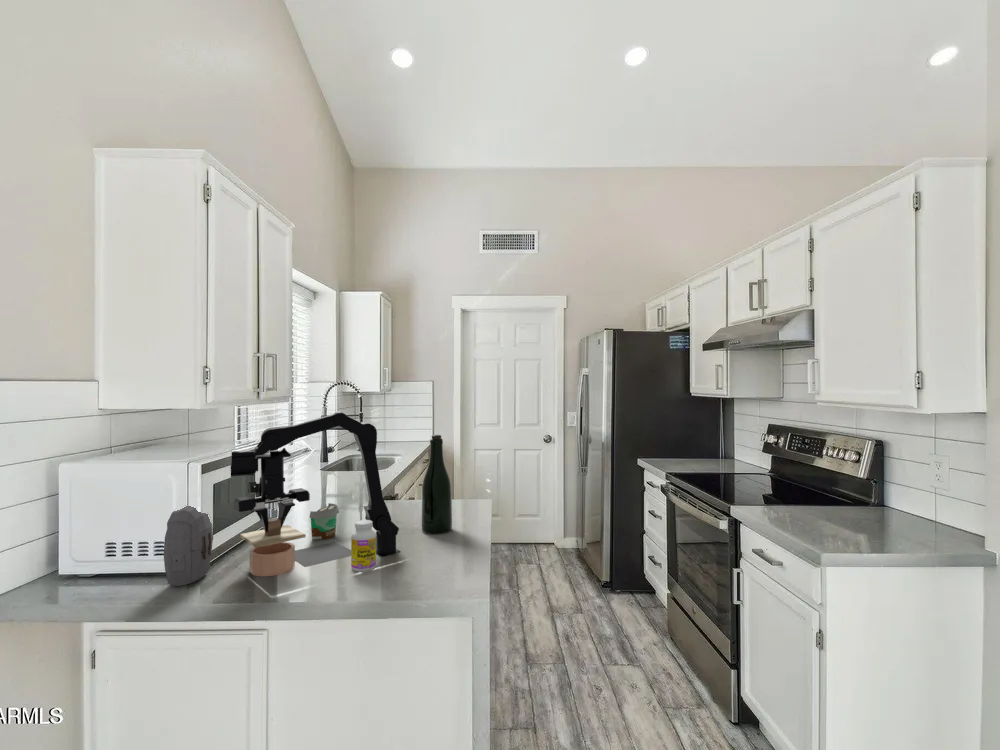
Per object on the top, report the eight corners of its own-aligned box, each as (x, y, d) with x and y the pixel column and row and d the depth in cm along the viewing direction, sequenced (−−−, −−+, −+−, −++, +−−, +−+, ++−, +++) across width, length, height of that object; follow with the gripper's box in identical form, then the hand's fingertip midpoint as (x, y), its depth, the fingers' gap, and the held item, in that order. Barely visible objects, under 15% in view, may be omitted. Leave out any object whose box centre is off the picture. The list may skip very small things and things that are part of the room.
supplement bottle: (354, 574, 141) (353, 526, 141) (348, 566, 147) (348, 520, 147) (378, 570, 144) (378, 523, 144) (372, 562, 150) (372, 517, 150)
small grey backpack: (191, 570, 145) (190, 497, 145) (222, 569, 145) (222, 497, 145) (158, 592, 130) (158, 511, 130) (193, 591, 130) (193, 510, 130)
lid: (305, 537, 144) (305, 519, 144) (255, 547, 135) (255, 529, 135) (287, 527, 154) (287, 511, 154) (240, 536, 145) (240, 519, 145)
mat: (358, 555, 156) (358, 553, 156) (305, 568, 145) (305, 566, 145) (334, 543, 168) (334, 541, 168) (283, 554, 157) (283, 553, 157)
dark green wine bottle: (416, 533, 178) (415, 436, 178) (429, 525, 188) (428, 433, 188) (445, 536, 175) (444, 436, 175) (456, 527, 185) (456, 433, 185)
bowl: (300, 570, 144) (300, 548, 144) (258, 581, 137) (258, 558, 137) (285, 560, 152) (285, 539, 152) (245, 569, 145) (244, 548, 145)
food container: (327, 544, 167) (326, 512, 167) (309, 543, 168) (309, 511, 168) (345, 532, 179) (345, 503, 179) (329, 532, 180) (329, 502, 180)
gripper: (295, 466, 157) (295, 518, 157) (227, 474, 144) (227, 531, 144) (310, 471, 149) (310, 526, 148) (239, 480, 136) (239, 540, 136)
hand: (272, 530), depth 144 cm, fingers closed on lid, 3 cm apart
